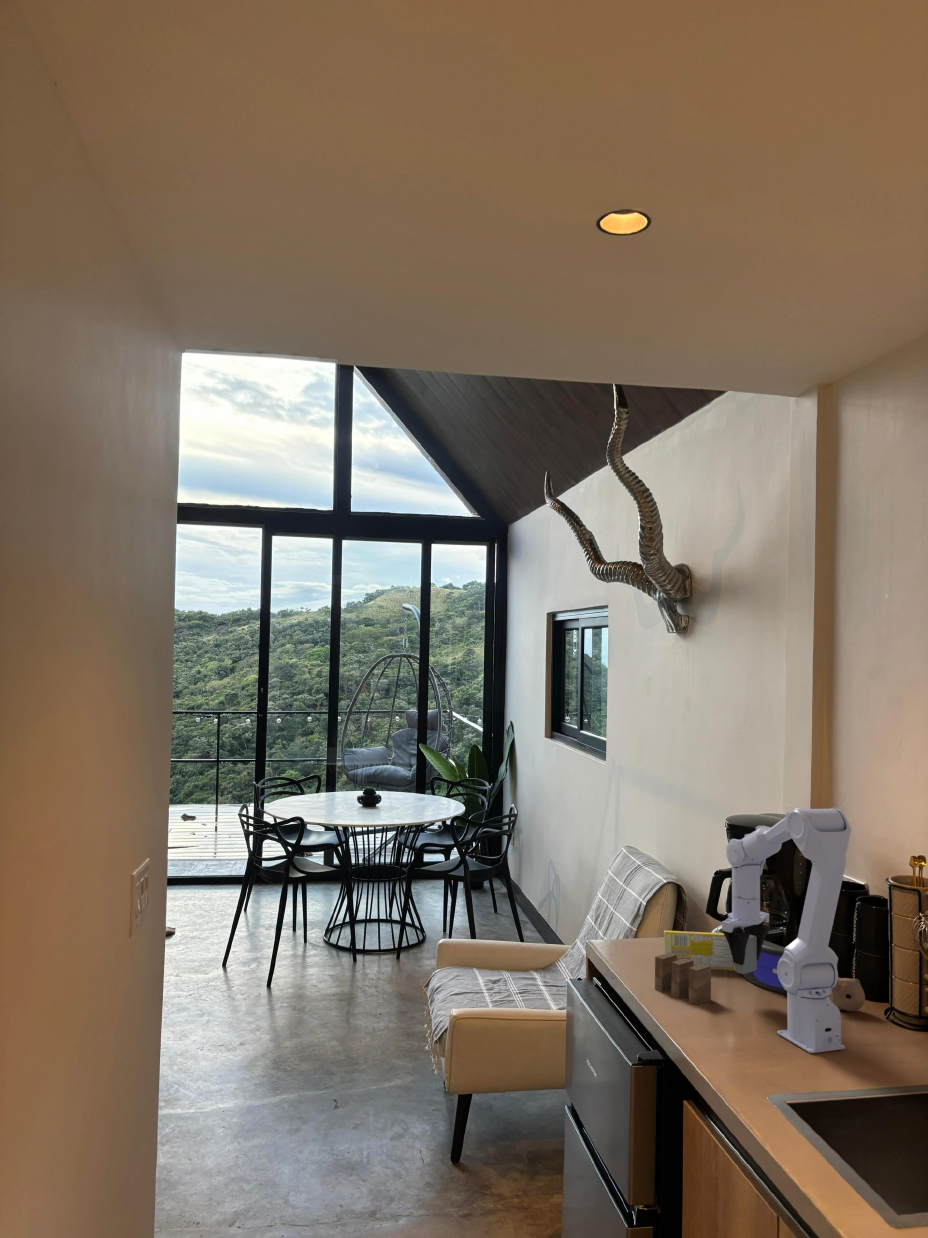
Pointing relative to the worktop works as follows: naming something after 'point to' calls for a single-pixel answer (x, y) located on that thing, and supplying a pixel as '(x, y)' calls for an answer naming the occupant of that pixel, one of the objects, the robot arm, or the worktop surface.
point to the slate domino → (749, 957)
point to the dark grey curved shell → (767, 968)
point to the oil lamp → (848, 994)
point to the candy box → (700, 948)
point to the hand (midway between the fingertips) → (746, 961)
